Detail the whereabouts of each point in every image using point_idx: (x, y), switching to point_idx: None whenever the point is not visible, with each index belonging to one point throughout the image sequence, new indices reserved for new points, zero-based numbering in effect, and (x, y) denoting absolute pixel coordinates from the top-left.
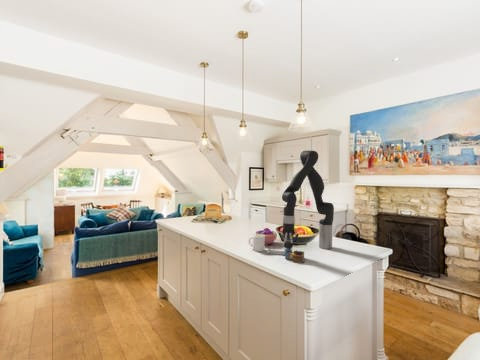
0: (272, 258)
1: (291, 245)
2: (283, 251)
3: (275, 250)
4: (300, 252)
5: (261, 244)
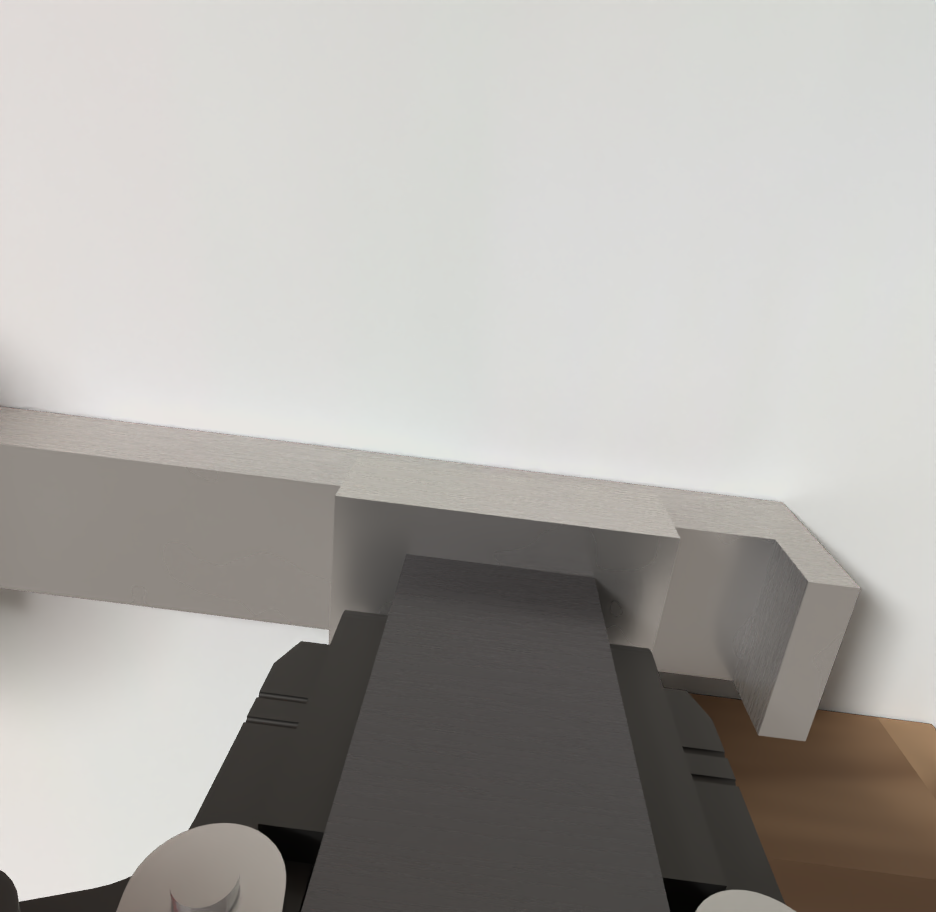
0: (99, 839)
1: None
2: (314, 521)
3: (9, 446)
4: (900, 907)
5: None
